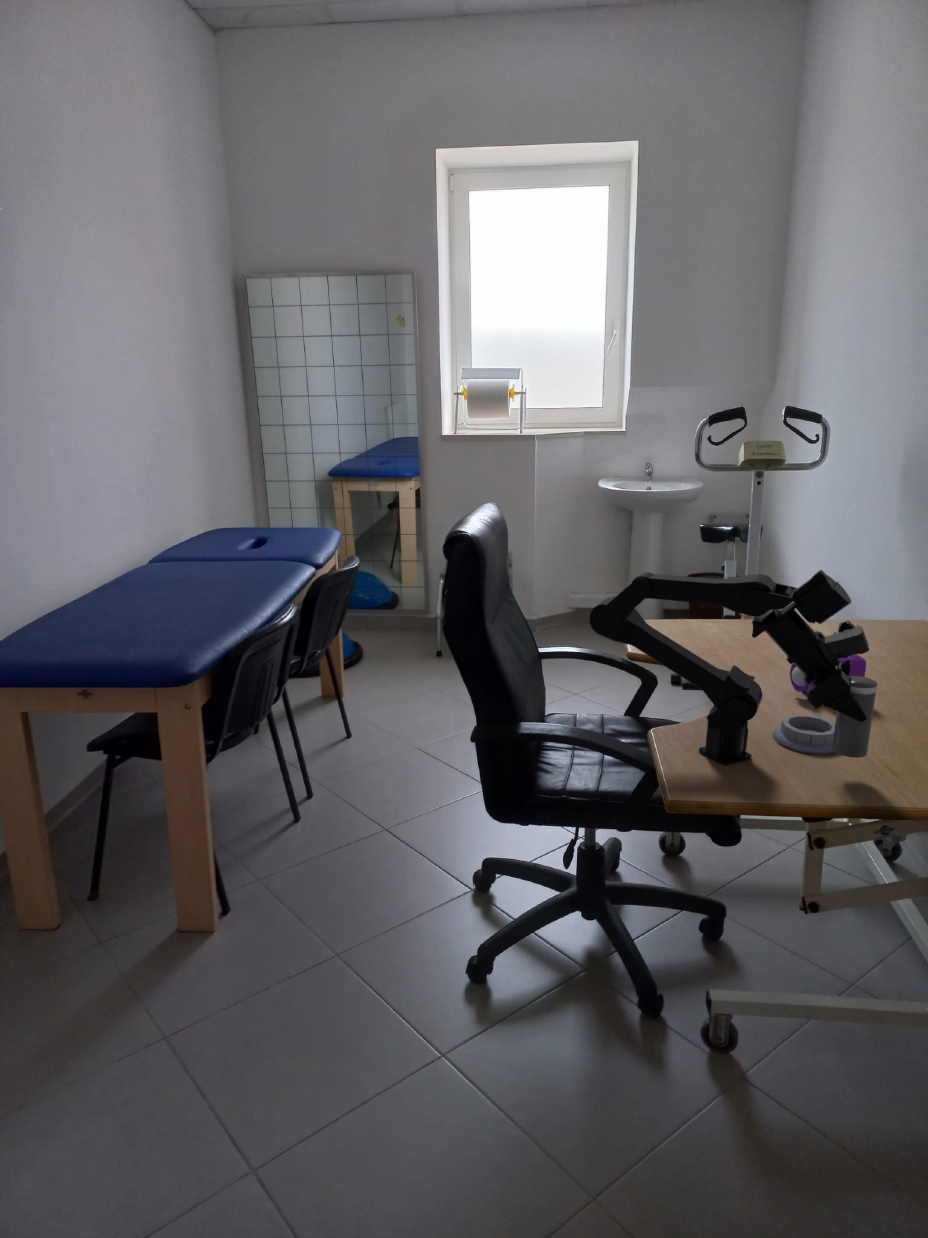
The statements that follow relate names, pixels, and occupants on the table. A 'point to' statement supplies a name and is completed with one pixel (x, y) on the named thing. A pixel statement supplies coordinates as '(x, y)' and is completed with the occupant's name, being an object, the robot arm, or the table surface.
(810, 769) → the table surface
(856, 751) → the grey domed cylinder
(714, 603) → the robot arm
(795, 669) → the toy camera
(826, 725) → the ring
